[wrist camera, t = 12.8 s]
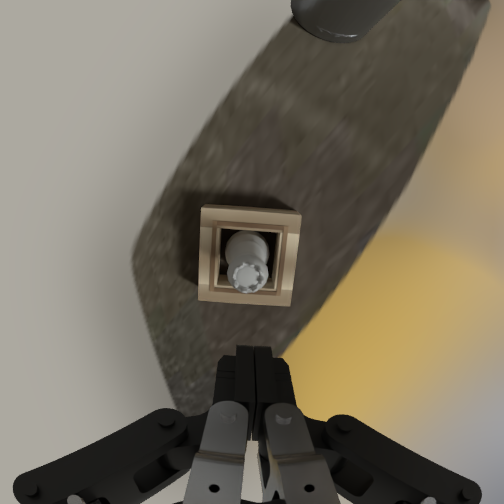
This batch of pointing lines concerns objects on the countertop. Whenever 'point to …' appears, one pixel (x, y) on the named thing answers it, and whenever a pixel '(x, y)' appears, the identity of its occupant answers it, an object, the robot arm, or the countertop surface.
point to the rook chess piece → (247, 261)
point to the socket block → (255, 220)
